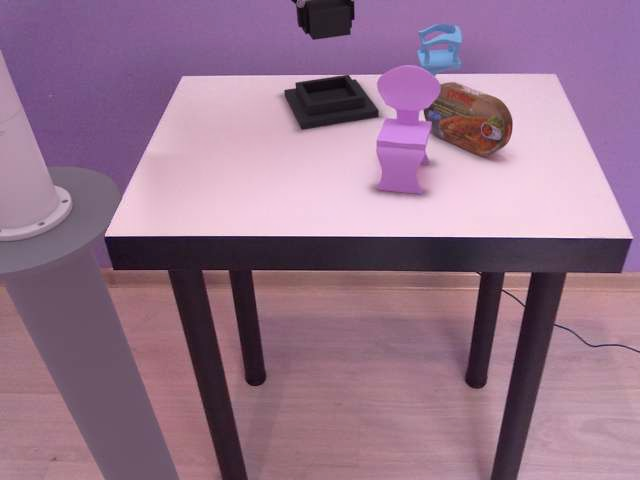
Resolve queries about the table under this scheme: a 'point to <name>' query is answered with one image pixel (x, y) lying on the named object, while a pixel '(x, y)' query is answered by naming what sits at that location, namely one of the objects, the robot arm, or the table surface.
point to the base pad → (329, 102)
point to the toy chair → (405, 126)
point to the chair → (440, 58)
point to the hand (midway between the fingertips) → (326, 27)
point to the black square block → (328, 18)
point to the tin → (470, 119)
